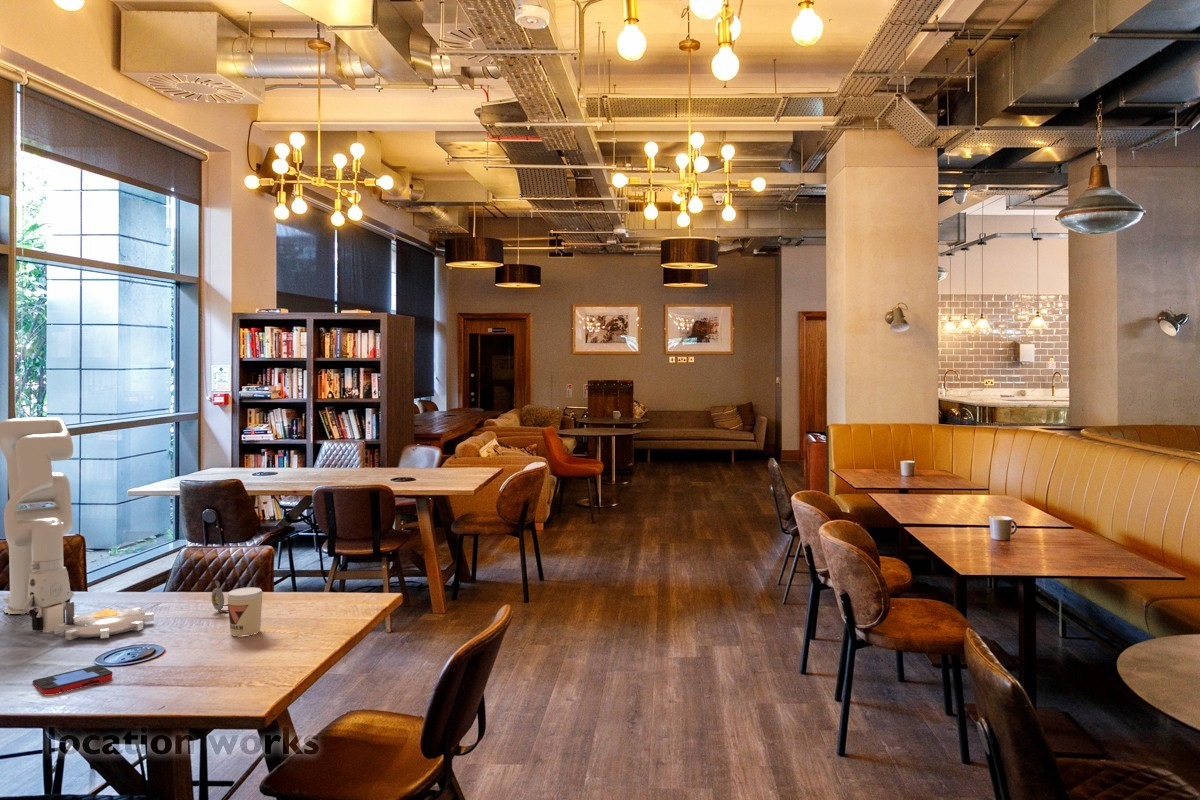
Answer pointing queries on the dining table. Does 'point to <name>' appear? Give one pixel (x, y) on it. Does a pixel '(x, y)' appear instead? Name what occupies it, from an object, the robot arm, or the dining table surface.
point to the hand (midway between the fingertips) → (49, 626)
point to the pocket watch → (218, 594)
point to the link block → (52, 617)
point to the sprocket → (102, 622)
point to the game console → (73, 679)
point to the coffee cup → (245, 610)
